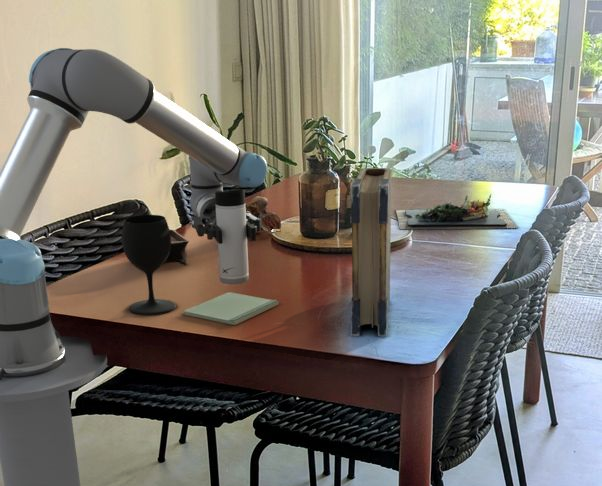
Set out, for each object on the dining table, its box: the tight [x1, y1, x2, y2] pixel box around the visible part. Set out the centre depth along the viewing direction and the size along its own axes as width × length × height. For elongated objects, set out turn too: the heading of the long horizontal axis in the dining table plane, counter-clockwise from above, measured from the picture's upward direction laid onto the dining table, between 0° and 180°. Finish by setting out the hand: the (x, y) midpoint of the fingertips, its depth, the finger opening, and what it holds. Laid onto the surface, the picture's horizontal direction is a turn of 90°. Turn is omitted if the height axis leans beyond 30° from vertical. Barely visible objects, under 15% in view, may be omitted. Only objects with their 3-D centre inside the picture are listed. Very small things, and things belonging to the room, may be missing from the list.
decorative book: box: [349, 167, 392, 338], centre depth 177 cm, size 23×7×30 cm, turn 172°
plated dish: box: [395, 193, 518, 230], centre depth 267 cm, size 35×28×7 cm
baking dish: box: [164, 228, 190, 266], centre depth 226 cm, size 14×18×10 cm
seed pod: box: [245, 195, 282, 234], centre depth 253 cm, size 13×16×15 cm
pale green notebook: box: [182, 291, 280, 326], centre depth 189 cm, size 16×14×1 cm
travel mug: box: [215, 188, 250, 285], centre depth 183 cm, size 6×7×20 cm
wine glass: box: [121, 214, 177, 316], centre depth 188 cm, size 10×10×20 cm
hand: (237, 235), depth 178 cm, fingers closed on travel mug, 6 cm apart
